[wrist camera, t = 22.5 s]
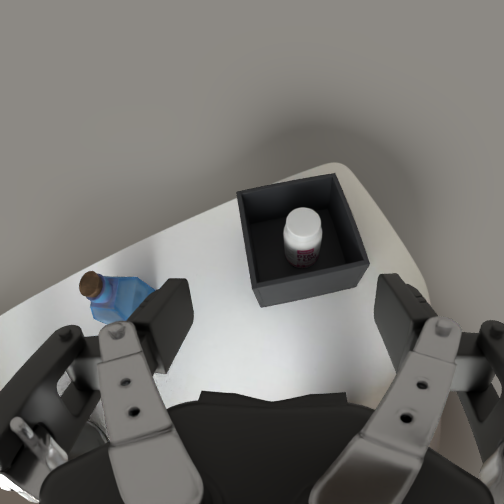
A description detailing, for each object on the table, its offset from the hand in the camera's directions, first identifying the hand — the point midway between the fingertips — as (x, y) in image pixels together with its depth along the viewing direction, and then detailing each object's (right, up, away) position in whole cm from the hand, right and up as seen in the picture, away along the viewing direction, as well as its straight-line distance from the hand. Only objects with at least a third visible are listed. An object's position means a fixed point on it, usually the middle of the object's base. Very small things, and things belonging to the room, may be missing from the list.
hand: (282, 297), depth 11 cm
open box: (+5, +2, +28) cm, 29 cm away
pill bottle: (+6, +2, +28) cm, 28 cm away
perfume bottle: (-18, -7, +28) cm, 34 cm away
